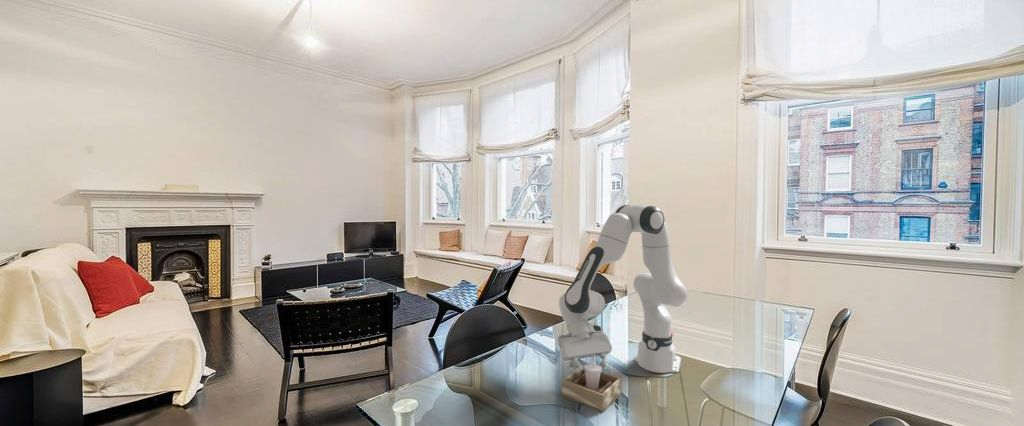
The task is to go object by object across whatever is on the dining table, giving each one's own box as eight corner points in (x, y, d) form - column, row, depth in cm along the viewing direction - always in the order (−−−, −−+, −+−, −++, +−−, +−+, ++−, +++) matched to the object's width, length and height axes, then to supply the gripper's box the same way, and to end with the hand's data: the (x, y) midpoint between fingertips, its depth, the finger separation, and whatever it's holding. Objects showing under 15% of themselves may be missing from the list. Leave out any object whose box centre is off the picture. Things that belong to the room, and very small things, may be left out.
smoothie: (601, 398, 143) (602, 360, 142) (582, 396, 144) (584, 358, 143) (600, 389, 149) (602, 352, 148) (583, 387, 150) (584, 351, 149)
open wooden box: (582, 380, 158) (583, 365, 157) (621, 393, 148) (622, 378, 147) (561, 396, 145) (562, 380, 144) (602, 412, 135) (603, 395, 135)
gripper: (558, 332, 148) (571, 369, 139) (605, 326, 155) (620, 361, 147) (552, 339, 152) (564, 375, 144) (598, 333, 160) (612, 367, 151)
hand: (593, 368), depth 145 cm, fingers open, 8 cm apart
